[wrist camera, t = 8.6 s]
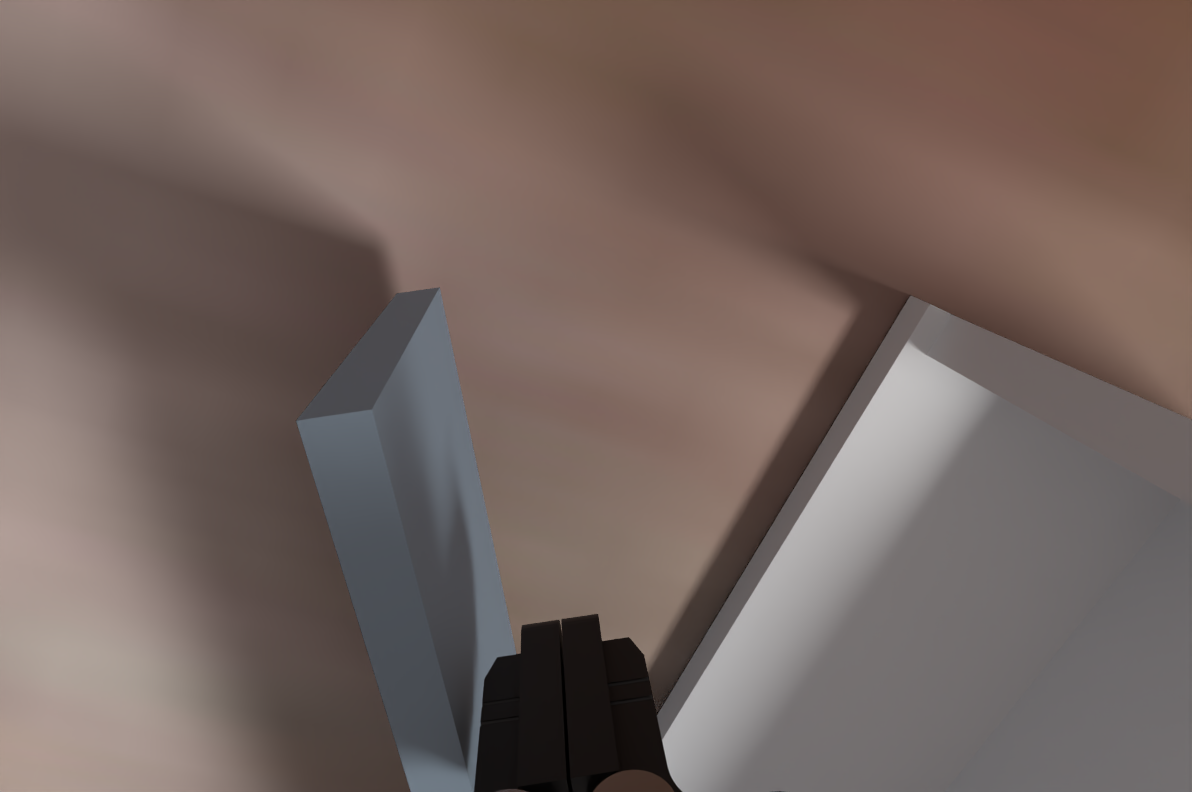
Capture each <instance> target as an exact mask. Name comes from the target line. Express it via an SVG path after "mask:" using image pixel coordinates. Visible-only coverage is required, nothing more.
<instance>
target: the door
mask: <svg viewBox="0 0 1192 792" xmlns="http://www.w3.org/2000/svg"><path fill="white" fill-rule="evenodd" d="M296 422H297V426H298V429H299V432H300V435H301V438H302V442H303V445H304V448H305V451H306V455H307V458H308V461H309V464H310V468H311V471H312V474H313V477H314V480H315V484H316V487H317V490H318V493H319V497H320V500H321V503H322V506H323V510H324V513H325V516H326V519H327V522H328V526H329V529H330V532H331V535H332V539H333V542H334V545H335V548H336V552H337V555H338V558H339V561H340V565H341V568H342V571H343V574H344V577H345V581H346V584H347V587H348V590H349V594H350V597H351V600H352V603H353V607H354V610H355V613H356V616H357V619H358V623H359V626H360V629H361V632H362V636H363V639H364V642H365V645H366V649H367V652H368V655H369V658H370V661H371V665H372V668H373V671H374V674H375V678H376V681H377V684H378V687H379V691H380V694H381V697H382V700H383V704H384V707H385V710H386V713H387V716H388V720H389V723H390V726H391V729H392V733H393V736H394V739H395V742H396V746H397V749H398V752H399V755H400V758H401V762H402V765H403V768H404V771H405V775H406V778H407V781H408V784H409V788H410V791H411V792H474V786H475V775H476V764H477V753H478V742H479V731H480V726H481V722H480V720H481V709H482V698H483V687H484V679H485V677H486V675H487V673H488V672H489V670H490V668H491V667H492V665H493V663H494V662H495V660H496V658H497V657H502V656H508V655H515V654H516V650H515V645H514V640H513V636H512V631H511V626H510V621H509V616H508V612H507V607H506V602H505V597H504V593H503V588H502V583H501V578H500V574H499V569H498V564H497V559H496V554H495V550H494V545H493V540H492V535H491V531H490V526H489V521H488V516H487V511H486V507H485V502H484V497H483V492H482V488H481V483H480V478H479V473H478V469H477V464H476V459H475V454H474V449H473V445H472V440H471V435H470V430H469V426H468V421H467V416H466V411H465V406H464V402H463V397H462V392H461V387H460V383H459V378H458V373H457V368H456V364H455V359H454V354H453V349H452V344H451V340H450V335H449V330H448V325H447V321H446V316H445V311H444V306H443V301H442V297H441V292H440V287H439V288H432V289H425V290H418V291H411V292H404V293H397V294H396V295H395V297H394V298H393V299H392V300H391V302H390V303H389V304H388V305H387V307H386V308H385V309H384V310H383V312H382V313H381V314H380V315H379V317H378V318H377V319H376V320H375V322H374V323H373V324H372V326H371V327H370V328H369V329H368V331H367V332H366V333H365V334H364V336H363V337H362V338H361V339H360V341H359V342H358V343H357V344H356V346H355V347H354V348H353V350H352V351H351V352H350V353H349V355H348V356H347V357H346V358H345V360H344V361H343V362H342V363H341V365H340V366H339V367H338V368H337V370H336V371H335V372H334V373H333V375H332V376H331V377H330V379H329V380H328V381H327V382H326V384H325V385H324V386H323V387H322V389H321V390H320V391H319V392H318V394H317V395H316V396H315V397H314V399H313V400H312V401H311V402H310V404H309V405H308V406H307V408H306V409H305V410H304V411H303V413H302V414H301V415H300V416H299V418H298V419H297V420H296Z"/></svg>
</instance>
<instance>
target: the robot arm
mask: <svg viewBox="0 0 1192 792" xmlns="http://www.w3.org/2000/svg"><path fill="white" fill-rule="evenodd" d="M480 722H481V726H480V731H479V742H478V753H477V764H476V775H475V786H474V792H682V791H681V790H680V789H679V788H678V787H677V785H676V784H675V782H674V781H673V779H672V777H671V775H670V773H669V769H668V766H667V761H666V756H665V752H664V747H663V742H662V738H661V733H660V728H659V724H658V719H657V714H656V709H655V705H654V700H653V696H652V691H651V686H650V681H649V677H648V672H647V667H646V662H645V658H644V654H643V653H642V652H641V651H640V650H639V649H638V647H637V646H636V645H635V644H634V643H633V641H632V640H631V639H630V638H629V637H628V638H621V639H614V640H608V641H602V639H601V632H600V624H599V617H598V614H594V615H587V616H580V617H573V618H567V619H562V631H561V625H560V621H559V620H554V621H547V622H541V623H534V624H527V625H522V629H521V654H515V655H508V656H502V657H497V658H496V660H495V662H494V663H493V665H492V667H491V668H490V670H489V672H488V673H487V675H486V677H485V679H484V687H483V698H482V709H481V720H480ZM775 792H783V791H775Z"/></svg>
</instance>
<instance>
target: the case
mask: <svg viewBox="0 0 1192 792" xmlns="http://www.w3.org/2000/svg"><path fill="white" fill-rule="evenodd" d="M657 719H658V724H659V728H660V733H661V738H662V742H663V747H664V752H665V756H666V761H667V766H668V769H669V773H670V775H671V777H672V779H673V781H674V782H675V784H676V785H677V787H678V788H679V789H680V790H681V791H682V792H775V791H783V792H1192V420H1191V419H1189V418H1187V417H1184V416H1182V415H1180V414H1178V413H1175V412H1173V411H1171V410H1168V409H1166V408H1164V407H1162V406H1159V405H1157V404H1155V403H1152V402H1150V401H1148V400H1146V399H1143V398H1141V397H1139V396H1136V395H1134V394H1132V393H1130V392H1127V391H1125V390H1123V389H1121V388H1118V387H1116V386H1114V385H1111V384H1109V383H1107V382H1105V381H1102V380H1100V379H1098V378H1095V377H1093V376H1091V375H1089V374H1086V373H1084V372H1082V371H1079V370H1077V369H1075V368H1073V367H1070V366H1068V365H1066V364H1064V363H1061V362H1059V361H1057V360H1054V359H1052V358H1050V357H1048V356H1045V355H1043V354H1041V353H1038V352H1036V351H1034V350H1032V349H1029V348H1027V347H1025V346H1022V345H1020V344H1018V343H1016V342H1013V341H1011V340H1009V339H1007V338H1004V337H1002V336H1000V335H997V334H995V333H993V332H991V331H988V330H986V329H984V328H981V327H979V326H977V325H975V324H972V323H970V322H968V321H965V320H963V319H961V318H959V317H956V316H954V315H952V314H950V313H948V312H946V311H944V310H942V309H939V308H937V307H935V306H933V305H931V304H929V303H927V302H924V301H922V300H920V299H918V298H915V297H913V296H911V295H910V297H909V299H908V300H907V302H906V304H905V305H904V307H903V309H902V310H901V312H900V314H899V315H898V317H897V319H896V320H895V322H894V324H893V325H892V327H891V329H890V330H889V332H888V334H887V335H886V337H885V338H884V340H883V342H882V343H881V345H880V347H879V348H878V350H877V352H876V353H875V355H874V357H873V358H872V360H871V362H870V363H869V365H868V367H867V368H866V370H865V372H864V373H863V375H862V377H861V378H860V380H859V382H858V383H857V385H856V387H855V388H854V390H853V392H852V393H851V395H850V396H849V398H848V400H847V401H846V403H845V405H844V406H843V408H842V410H841V411H840V413H839V415H838V416H837V418H836V420H835V421H834V423H833V425H832V426H831V428H830V430H829V431H828V433H827V435H826V436H825V438H824V440H823V441H822V443H821V445H820V446H819V448H818V450H817V451H816V453H815V454H814V456H813V458H812V459H811V461H810V463H809V464H808V466H807V468H806V469H805V471H804V473H803V474H802V476H801V478H800V479H799V481H798V483H797V484H796V486H795V488H794V489H793V491H792V493H791V494H790V496H789V498H788V499H787V501H786V503H785V504H784V506H783V508H782V509H781V511H780V512H779V514H778V516H777V517H776V519H775V521H774V522H773V524H772V526H771V527H770V529H769V531H768V532H767V534H766V536H765V537H764V539H763V541H762V542H761V544H760V546H759V547H758V549H757V551H756V552H755V554H754V556H753V557H752V559H751V561H750V562H749V564H748V566H747V567H746V569H745V570H744V572H743V574H742V575H741V577H740V579H739V580H738V582H737V584H736V585H735V587H734V589H733V590H732V592H731V594H730V595H729V597H728V599H727V600H726V602H725V604H724V605H723V607H722V609H721V610H720V612H719V614H718V615H717V617H716V619H715V620H714V622H713V624H712V625H711V627H710V628H709V630H708V632H707V633H706V635H705V637H704V638H703V640H702V642H701V643H700V645H699V647H698V648H697V650H696V652H695V653H694V655H693V657H692V658H691V660H690V662H689V663H688V665H687V667H686V668H685V670H684V672H683V673H682V675H681V677H680V678H679V680H678V682H677V683H676V685H675V686H674V688H673V690H672V691H671V693H670V695H669V696H668V698H667V700H666V701H665V703H664V705H663V706H662V708H661V710H660V711H659V713H658V715H657Z"/></svg>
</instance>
